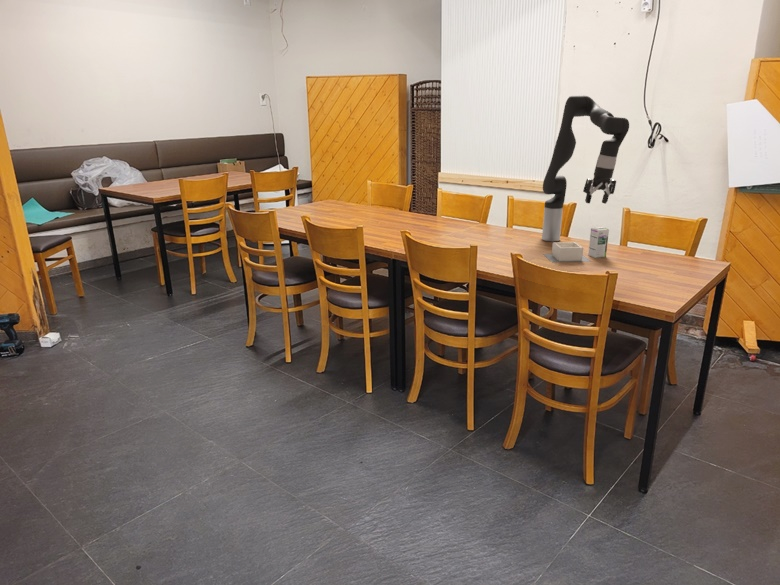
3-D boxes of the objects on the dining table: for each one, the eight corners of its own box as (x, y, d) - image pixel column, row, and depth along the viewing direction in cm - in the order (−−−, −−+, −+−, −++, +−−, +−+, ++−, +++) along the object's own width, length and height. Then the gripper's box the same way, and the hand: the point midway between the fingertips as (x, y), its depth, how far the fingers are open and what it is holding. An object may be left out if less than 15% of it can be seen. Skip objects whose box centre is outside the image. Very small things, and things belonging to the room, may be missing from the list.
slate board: (542, 257, 258) (542, 254, 258) (579, 256, 259) (580, 253, 259) (552, 265, 245) (552, 262, 245) (591, 264, 246) (591, 261, 245)
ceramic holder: (551, 254, 256) (552, 242, 254) (573, 254, 257) (574, 241, 255) (559, 261, 246) (560, 248, 244) (582, 260, 247) (583, 247, 245)
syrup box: (595, 261, 251) (598, 230, 246) (587, 257, 257) (590, 227, 252) (605, 260, 253) (609, 229, 248) (597, 256, 258) (601, 226, 253)
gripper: (613, 164, 238) (603, 200, 245) (585, 163, 234) (576, 200, 241) (624, 168, 232) (614, 205, 239) (596, 167, 227) (587, 205, 234)
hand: (595, 203), depth 240 cm, fingers open, 8 cm apart
